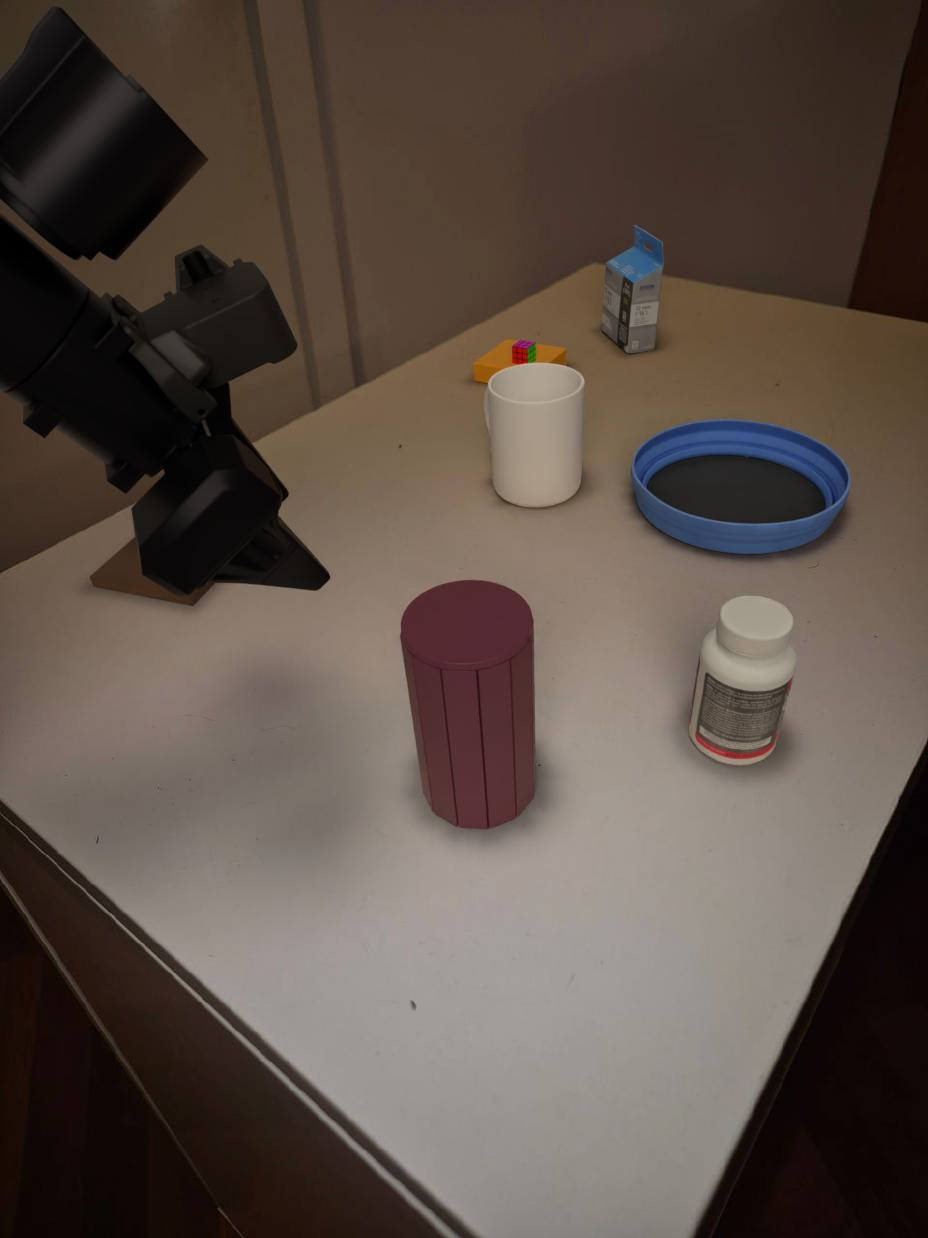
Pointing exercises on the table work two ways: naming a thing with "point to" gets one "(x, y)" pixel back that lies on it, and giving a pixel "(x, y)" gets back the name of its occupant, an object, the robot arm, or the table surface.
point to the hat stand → (136, 577)
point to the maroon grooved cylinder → (472, 700)
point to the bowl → (739, 485)
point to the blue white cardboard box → (633, 294)
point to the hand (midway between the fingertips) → (302, 537)
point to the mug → (535, 433)
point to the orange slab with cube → (516, 357)
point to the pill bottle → (743, 681)
